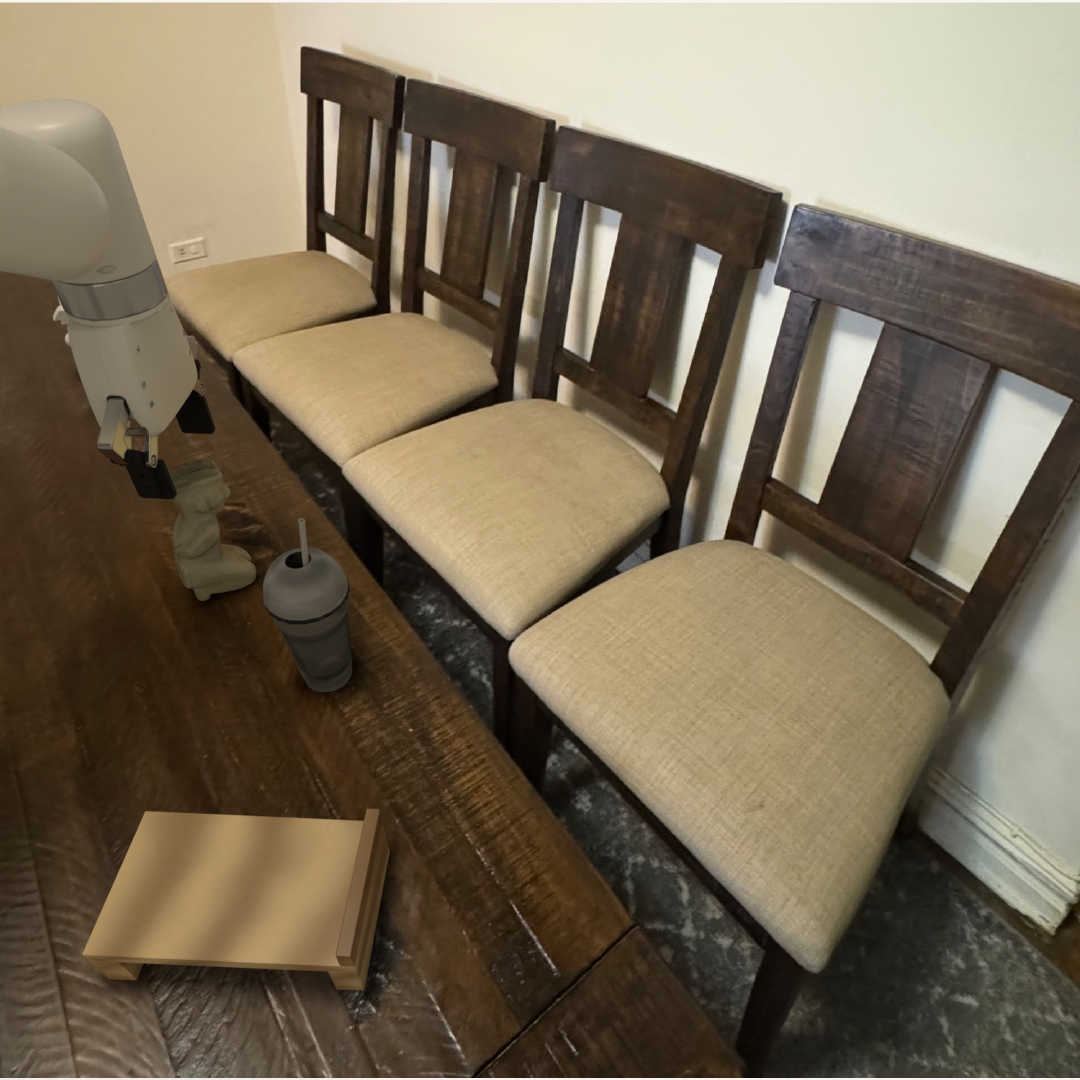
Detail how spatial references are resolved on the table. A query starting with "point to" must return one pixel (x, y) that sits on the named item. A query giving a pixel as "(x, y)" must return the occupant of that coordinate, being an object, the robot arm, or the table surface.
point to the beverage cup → (312, 613)
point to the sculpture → (205, 533)
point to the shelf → (245, 895)
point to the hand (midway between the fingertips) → (180, 462)
